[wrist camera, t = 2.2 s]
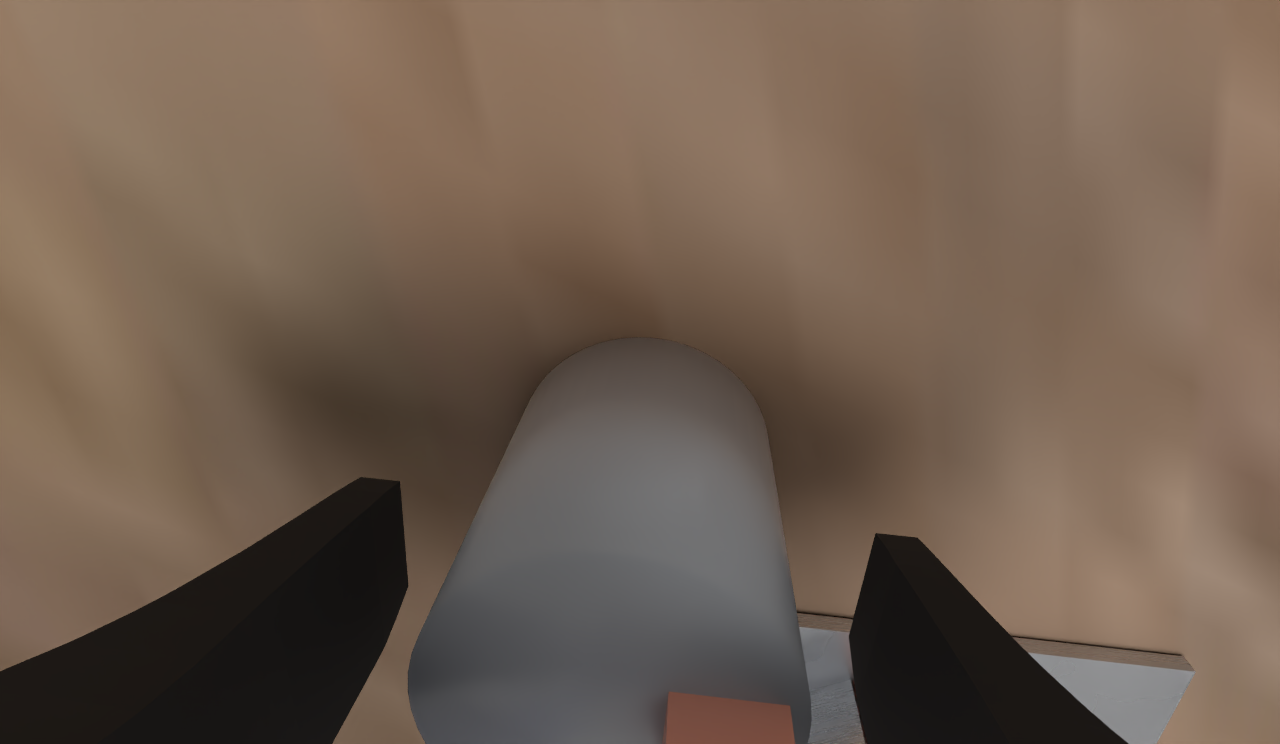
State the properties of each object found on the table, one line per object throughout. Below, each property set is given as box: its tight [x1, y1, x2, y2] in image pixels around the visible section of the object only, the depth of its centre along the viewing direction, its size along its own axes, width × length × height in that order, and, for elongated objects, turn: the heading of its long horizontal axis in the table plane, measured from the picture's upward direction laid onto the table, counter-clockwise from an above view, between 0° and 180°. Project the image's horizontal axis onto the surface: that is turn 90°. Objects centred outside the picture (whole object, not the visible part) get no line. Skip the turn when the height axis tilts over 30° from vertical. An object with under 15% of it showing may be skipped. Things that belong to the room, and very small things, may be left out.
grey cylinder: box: [408, 337, 812, 744], centre depth 11 cm, size 5×5×7 cm
